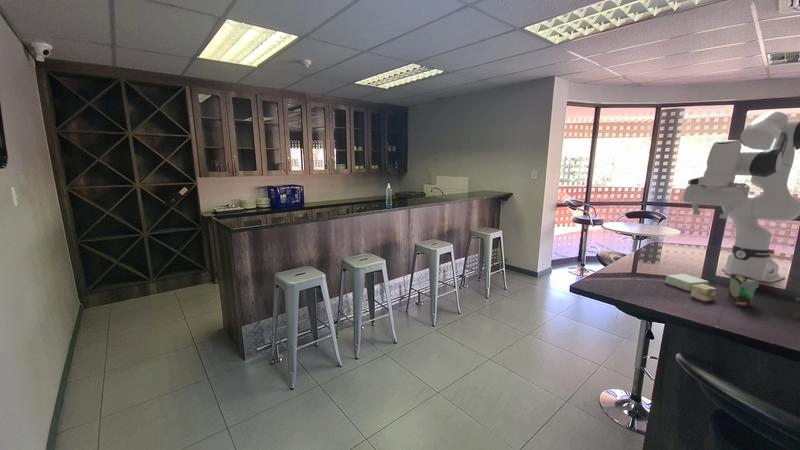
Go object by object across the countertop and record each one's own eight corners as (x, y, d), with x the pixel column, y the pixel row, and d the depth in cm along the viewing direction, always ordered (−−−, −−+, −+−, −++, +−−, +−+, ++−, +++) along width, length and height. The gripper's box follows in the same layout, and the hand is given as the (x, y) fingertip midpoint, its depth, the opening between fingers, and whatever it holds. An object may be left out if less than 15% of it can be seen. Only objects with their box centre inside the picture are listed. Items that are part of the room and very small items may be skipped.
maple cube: (700, 295, 130) (702, 284, 129) (714, 300, 125) (716, 288, 124) (690, 296, 129) (692, 285, 128) (704, 301, 124) (706, 289, 123)
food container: (760, 310, 116) (766, 285, 114) (737, 307, 119) (742, 281, 117) (747, 299, 126) (752, 275, 124) (726, 296, 129) (730, 272, 127)
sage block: (682, 282, 146) (684, 273, 145) (707, 290, 137) (708, 281, 136) (665, 283, 144) (666, 275, 144) (688, 291, 135) (690, 283, 134)
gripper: (757, 184, 115) (747, 221, 118) (695, 181, 135) (688, 213, 137) (744, 183, 114) (734, 220, 116) (684, 180, 133) (676, 212, 136)
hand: (709, 216), depth 127 cm, fingers open, 8 cm apart
